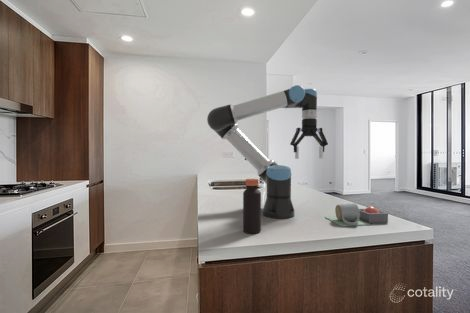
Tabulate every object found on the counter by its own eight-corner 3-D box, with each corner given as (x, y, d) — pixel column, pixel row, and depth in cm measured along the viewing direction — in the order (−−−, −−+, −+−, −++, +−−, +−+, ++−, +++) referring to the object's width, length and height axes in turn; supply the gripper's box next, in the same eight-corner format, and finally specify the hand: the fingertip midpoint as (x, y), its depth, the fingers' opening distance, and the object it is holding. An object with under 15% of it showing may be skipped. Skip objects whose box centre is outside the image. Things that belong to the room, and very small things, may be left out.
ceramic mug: (334, 218, 109) (334, 201, 108) (353, 218, 108) (353, 201, 108) (342, 225, 98) (343, 207, 98) (363, 226, 97) (364, 207, 97)
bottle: (260, 234, 88) (260, 180, 88) (241, 233, 90) (242, 180, 89) (261, 228, 95) (261, 178, 95) (244, 227, 96) (244, 178, 96)
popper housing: (368, 223, 102) (369, 214, 102) (355, 217, 111) (355, 209, 111) (387, 222, 103) (388, 213, 103) (373, 216, 112) (373, 208, 112)
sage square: (341, 226, 98) (341, 225, 98) (324, 217, 111) (324, 216, 111) (370, 225, 100) (370, 224, 100) (350, 216, 113) (350, 215, 113)
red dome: (369, 220, 104) (369, 208, 103) (359, 216, 110) (360, 205, 110) (382, 219, 105) (383, 208, 104) (372, 215, 111) (372, 204, 111)
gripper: (289, 117, 123) (289, 158, 123) (334, 118, 126) (334, 158, 126) (284, 119, 130) (284, 158, 131) (327, 120, 133) (327, 158, 134)
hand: (309, 158), depth 128 cm, fingers open, 13 cm apart
